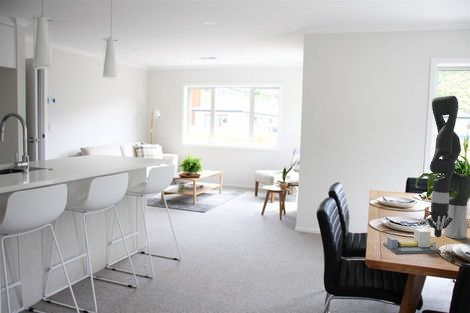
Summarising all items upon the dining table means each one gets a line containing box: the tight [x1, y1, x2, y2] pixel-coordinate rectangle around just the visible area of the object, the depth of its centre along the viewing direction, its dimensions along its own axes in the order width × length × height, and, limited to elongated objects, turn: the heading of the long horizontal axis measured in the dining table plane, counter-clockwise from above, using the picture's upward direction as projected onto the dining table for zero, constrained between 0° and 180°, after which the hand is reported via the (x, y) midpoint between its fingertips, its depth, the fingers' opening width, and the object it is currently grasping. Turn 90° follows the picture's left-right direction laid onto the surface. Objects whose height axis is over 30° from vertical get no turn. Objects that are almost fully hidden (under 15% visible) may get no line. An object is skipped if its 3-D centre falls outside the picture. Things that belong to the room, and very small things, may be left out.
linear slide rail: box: [382, 236, 442, 255], centre depth 193 cm, size 22×12×5 cm, turn 96°
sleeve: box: [413, 228, 431, 247], centre depth 193 cm, size 5×5×7 cm
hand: (437, 236), depth 194 cm, fingers closed
